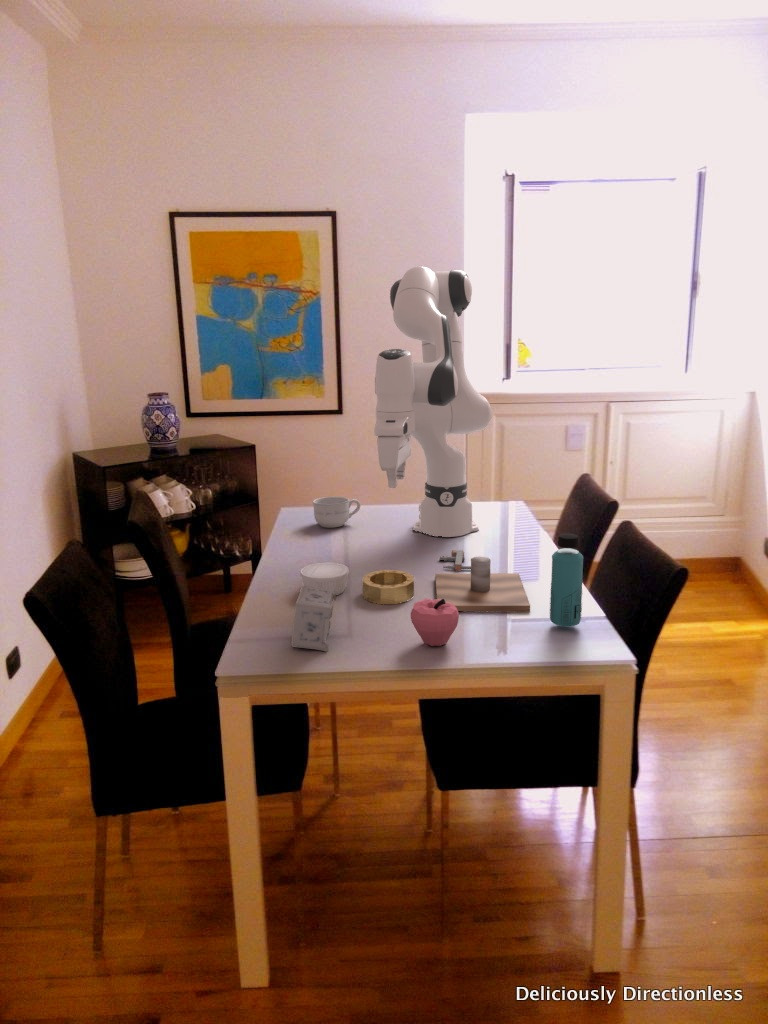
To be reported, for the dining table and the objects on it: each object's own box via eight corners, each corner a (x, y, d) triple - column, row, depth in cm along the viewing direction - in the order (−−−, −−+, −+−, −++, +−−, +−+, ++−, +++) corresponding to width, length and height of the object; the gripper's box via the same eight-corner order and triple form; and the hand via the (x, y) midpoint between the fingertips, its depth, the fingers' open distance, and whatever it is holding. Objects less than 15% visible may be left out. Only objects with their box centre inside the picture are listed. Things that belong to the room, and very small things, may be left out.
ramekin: (296, 586, 193) (295, 565, 191) (341, 579, 196) (340, 559, 195) (307, 602, 183) (306, 580, 181) (354, 595, 186) (354, 574, 185)
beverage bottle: (575, 636, 163) (580, 541, 157) (544, 629, 166) (547, 537, 161) (584, 624, 168) (589, 532, 163) (553, 618, 172) (557, 528, 166)
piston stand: (435, 579, 195) (435, 546, 193) (518, 579, 194) (519, 545, 192) (437, 612, 176) (437, 575, 174) (530, 611, 175) (531, 575, 173)
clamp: (440, 549, 212) (479, 550, 211) (440, 557, 212) (478, 558, 211) (436, 568, 198) (478, 569, 196) (436, 577, 198) (477, 578, 197)
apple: (455, 633, 165) (456, 588, 162) (461, 652, 157) (462, 604, 154) (409, 635, 165) (408, 589, 162) (412, 654, 156) (412, 606, 154)
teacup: (311, 530, 236) (310, 504, 233) (316, 520, 246) (315, 494, 244) (359, 530, 235) (358, 503, 233) (361, 519, 245) (361, 494, 243)
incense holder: (333, 652, 158) (331, 603, 155) (291, 652, 158) (288, 603, 155) (338, 631, 167) (336, 584, 164) (298, 631, 167) (295, 584, 165)
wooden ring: (364, 585, 192) (364, 570, 191) (413, 585, 191) (413, 569, 190) (361, 604, 181) (361, 588, 180) (413, 604, 180) (413, 587, 179)
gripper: (390, 417, 193) (392, 473, 196) (372, 429, 173) (374, 492, 177) (416, 417, 192) (417, 474, 195) (401, 429, 172) (402, 492, 176)
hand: (396, 483), depth 186 cm, fingers open, 8 cm apart
